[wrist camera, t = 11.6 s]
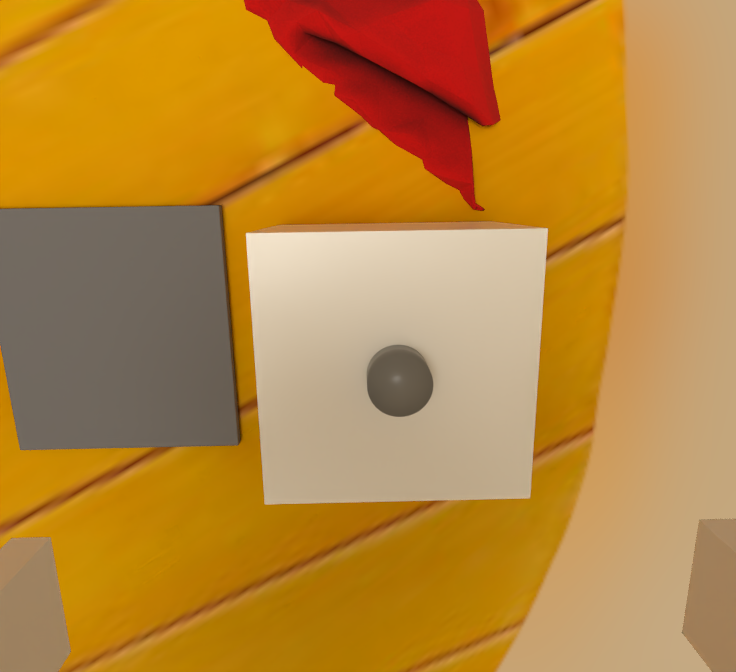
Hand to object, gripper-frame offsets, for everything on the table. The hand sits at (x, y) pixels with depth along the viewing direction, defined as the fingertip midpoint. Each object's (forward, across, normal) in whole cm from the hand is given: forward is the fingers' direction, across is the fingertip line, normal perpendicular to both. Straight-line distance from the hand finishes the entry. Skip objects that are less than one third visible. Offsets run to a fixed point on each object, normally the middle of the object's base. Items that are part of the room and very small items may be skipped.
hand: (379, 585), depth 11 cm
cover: (+21, -1, -1) cm, 21 cm away
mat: (+21, +14, -1) cm, 25 cm away
